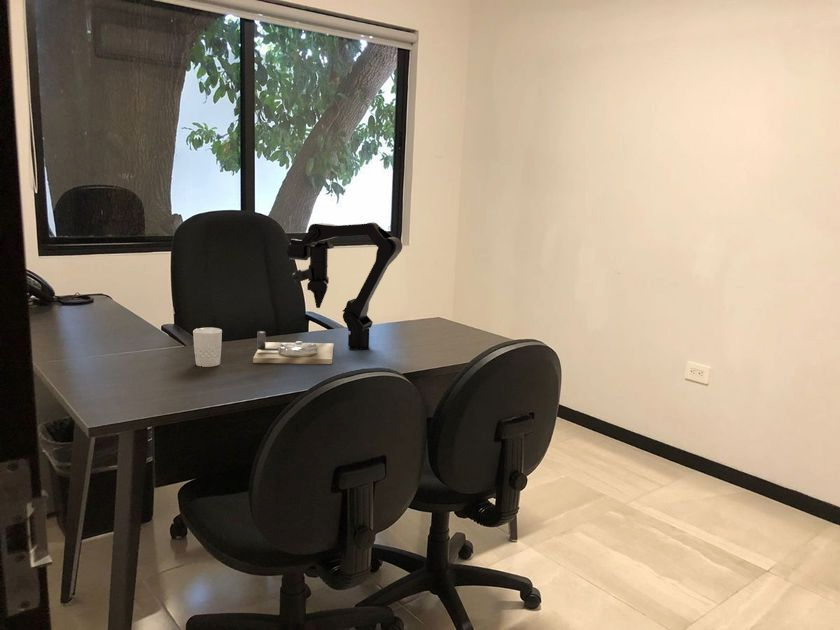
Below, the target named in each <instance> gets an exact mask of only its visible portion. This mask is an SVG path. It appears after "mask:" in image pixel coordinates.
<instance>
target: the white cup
mask: <svg viewBox="0 0 840 630" xmlns="http://www.w3.org/2000/svg"><path fill="white" fill-rule="evenodd" d="M222 333H223V330H222V329H221V328H218V327H200V328H195V329H194V330H193V331H192V334H193V335H192V336H193V337H192V338H193V350H194V356H195V358H194V359H195V365H196V366H197V367H201V366H202V367H201V368H203V367H204V368H210V367H216V366H219V365H220V364H221V355H222V341H223V340H222V337H223V336H222V335H223V334H222Z"/></svg>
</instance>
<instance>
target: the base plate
mask: <svg viewBox="0 0 840 630" xmlns="http://www.w3.org/2000/svg"><path fill="white" fill-rule="evenodd" d="M282 343H283V342H278V341H277V342H275V341H274V342H273V341H272V342H270V341H265V347H279V346H281V344H282ZM286 343H287V344H290V343H291V342H286ZM305 343H306V344H310V343H311V342H305ZM313 343H314V344H316V346H317V347H318V353H317V354H316V355H313V356H309V357H287V356H282V355H280V354H278V351H261V350H258V349H257V351H256V352H255V354H254V356H253V359H252V361H253V362H252V363H254V364H305V365H306V364H308V365H309V364H313V365H314V364H316V365H321V364H322V365H324V364H325V365H333V364H332V363H333V355H334V342H333V343H328V342H327V343H326V342H323V343H322V342H321V343H320V342H313Z"/></svg>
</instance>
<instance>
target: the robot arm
mask: <svg viewBox="0 0 840 630" xmlns="http://www.w3.org/2000/svg"><path fill="white" fill-rule="evenodd" d="M351 236H352V237H353V236H367V237H369V239H370V240H371V241H372V243H373V244H374V245H375V246H376V247H377V249H376V254H375V261H374V263H373V265H372V267H371V269H370V271H369V273H368V275H367V277H366V278H365V281H364V282H363V285H362V286H361V287H360V290H359V293H358V294H357V296H356V297H355V298H352V299H350V300H349V299H348V300H347V302H346V305H345V307H344V309H343V310H342V312H343V314H342V318H343V321H344V324H345V325H346V328H347V330H348V333H347V334H348V339H347V345H348V347H349V350H366V351H367V350H368V351H369V350H370V329H371V328H372V326H373V321H372V319H371V318H370V317H369V316H368V312H369V306H370V302H371V299H372V298H373V296H374V294H375V291H376V290H377V288H378V286H379V285H380V282H381V281H382V279H383V277H384V275H385V273H386V270H387V269H388V268H389V266H390V265H391V264H392V263H393V262H394V260H396V258H397V257H398V256H399V255H400V253H401V252H402V251H403V244H402V241H401V240H400V238H398V237H394V236H393V235H392V234H391V233H389V232H388V231H386V230H385V229H383V228H382V227H381V226H380V225H379V224H378V223H376V222H374V221H373V222H367V223H356V224H354V223H353V224H344V225H343V224H342V225H339V224H338V225H337V224H332V223H323V222H320V223H319V222H318V223H313V224H310V226H309V227H308V230H307V233H306V234H305V236H304V237H303V238H302V239H297V238H291V239H290V243H289V245H288V247H287V249H286V254H287V258H288V259H289V260H294V261H295V260H298V261H308V260H309V265H308V268H305V269H302V270H301V269H299V270H298V269H297V270H295V272H293V273H292V279H293V281H294V284H299V283H300V282H303V281H306V280H308V282H307V285H306V286H307V290H306V291H311V293H313V298H314V302H315V307H316V309H320V308H321V305H322V303H323V300H324V298H325V296H326V293H327V291H328V287H329V286H328V284H329V280H330V279H329V276H328V268H329V266H328V261H329V260H328V258H329V257H328V256H329V254H328V253H329V252H328V251H329V250H330V249H334V248H335V246H334V245H333V244H332V243H331V242H330V241H329V240H330V239H331V240H333V239H334V238H338V237H351ZM321 241H323V242H321ZM324 241H325V242H324ZM312 244H313V245H312Z"/></svg>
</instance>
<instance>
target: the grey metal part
mask: <svg viewBox="0 0 840 630" xmlns="http://www.w3.org/2000/svg"><path fill="white" fill-rule="evenodd" d="M256 336H257V337H256V338H257V341H256V343H257V344H256V345H257V346H256V347H257V350H261V351H278V354H280V355H282V356H287V357H309V356H313V355H316V354H317V353H318V347H317V346H316V344H314V343H315V342H309V343H310V344H306V343H307V342H303V341H302V340H301V341H299V340H298V341H295V342H289V343H290V344H287V343H288V342H281V343H282V344H281V346H279V347H265V342H266V331H264V330H258V331H257V334H256Z"/></svg>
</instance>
